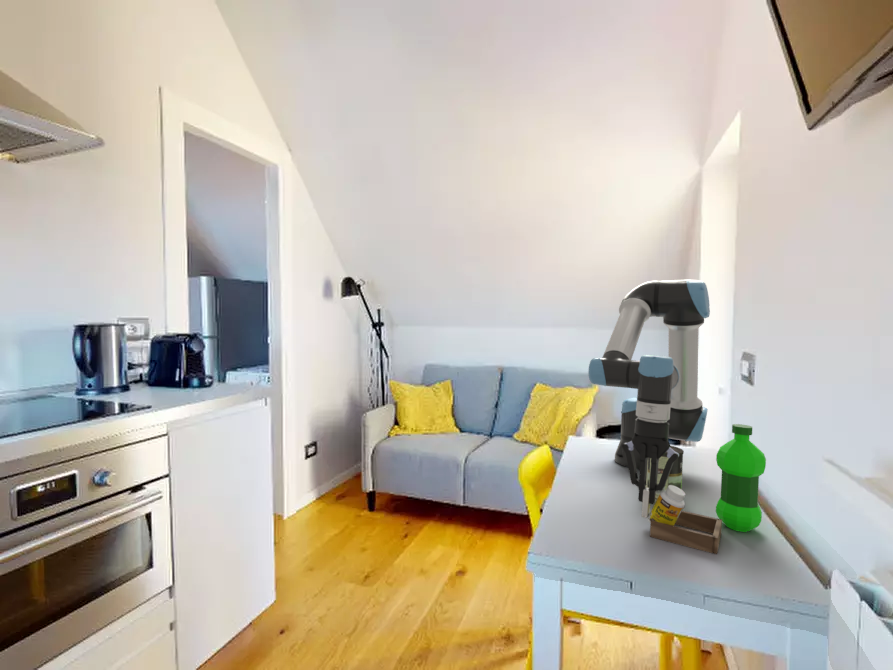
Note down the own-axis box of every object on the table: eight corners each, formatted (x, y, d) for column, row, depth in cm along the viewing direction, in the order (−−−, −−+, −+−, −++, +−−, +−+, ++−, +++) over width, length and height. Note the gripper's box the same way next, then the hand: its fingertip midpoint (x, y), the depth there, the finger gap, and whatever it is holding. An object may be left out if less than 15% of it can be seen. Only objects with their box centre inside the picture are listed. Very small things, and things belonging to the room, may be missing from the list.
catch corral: (659, 519, 119) (660, 505, 119) (721, 534, 111) (722, 519, 111) (649, 536, 109) (650, 521, 109) (717, 554, 101) (717, 538, 101)
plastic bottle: (744, 518, 120) (748, 421, 120) (773, 537, 110) (778, 431, 109) (705, 517, 120) (709, 420, 120) (730, 536, 110) (735, 430, 109)
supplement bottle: (644, 522, 112) (662, 487, 109) (649, 514, 116) (667, 479, 114) (668, 537, 109) (687, 501, 106) (672, 527, 114) (690, 492, 111)
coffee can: (675, 492, 138) (677, 444, 138) (686, 505, 128) (688, 454, 128) (638, 489, 140) (640, 442, 140) (646, 502, 130) (648, 451, 130)
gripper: (620, 417, 114) (614, 512, 115) (678, 426, 107) (671, 528, 107) (628, 413, 120) (622, 504, 121) (684, 421, 113) (677, 518, 114)
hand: (645, 515), depth 114 cm, fingers closed
